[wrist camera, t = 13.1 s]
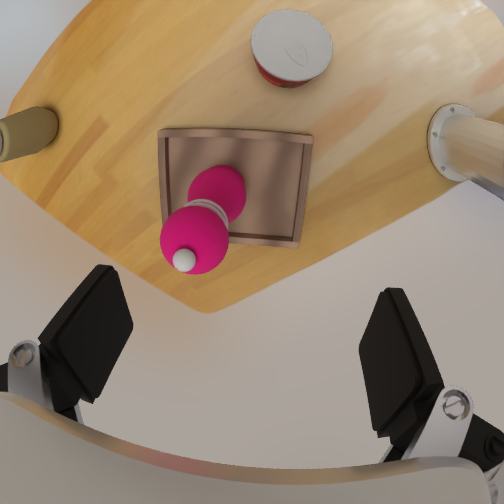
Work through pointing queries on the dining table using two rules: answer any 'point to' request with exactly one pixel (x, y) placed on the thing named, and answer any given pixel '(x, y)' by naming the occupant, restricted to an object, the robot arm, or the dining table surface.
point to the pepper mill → (204, 221)
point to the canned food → (291, 47)
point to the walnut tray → (253, 172)
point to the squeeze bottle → (26, 132)
